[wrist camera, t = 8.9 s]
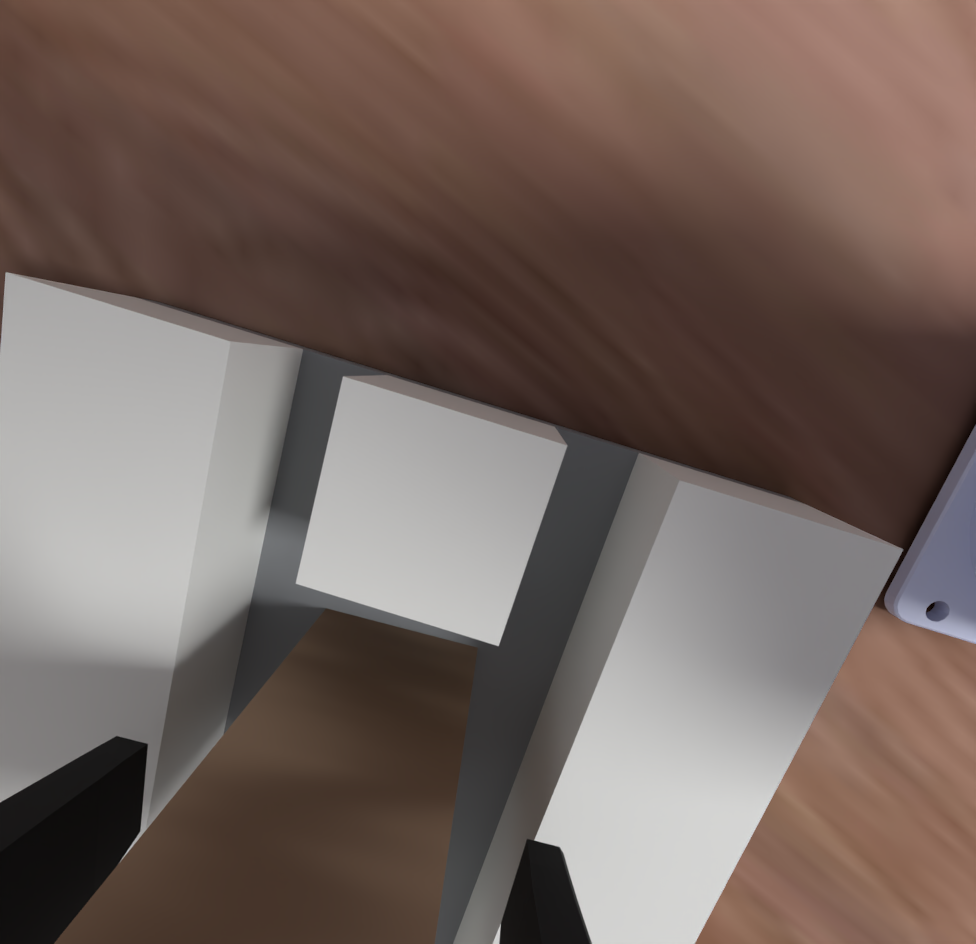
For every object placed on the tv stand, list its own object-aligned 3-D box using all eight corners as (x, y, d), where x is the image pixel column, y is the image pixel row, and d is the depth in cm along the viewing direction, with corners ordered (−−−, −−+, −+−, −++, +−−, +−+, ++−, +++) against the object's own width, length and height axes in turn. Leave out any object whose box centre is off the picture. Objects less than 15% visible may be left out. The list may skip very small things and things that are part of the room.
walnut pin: (477, 647, 12) (370, 1377, 3) (442, 775, 13) (285, 1623, 4) (325, 608, 12) (-177, 1226, 3) (301, 737, 13) (-151, 1499, 4)
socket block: (789, 496, 12) (903, 549, 8) (573, 965, 15) (589, 1141, 12) (157, 301, 12) (5, 271, 8) (86, 816, 15) (-42, 947, 12)
